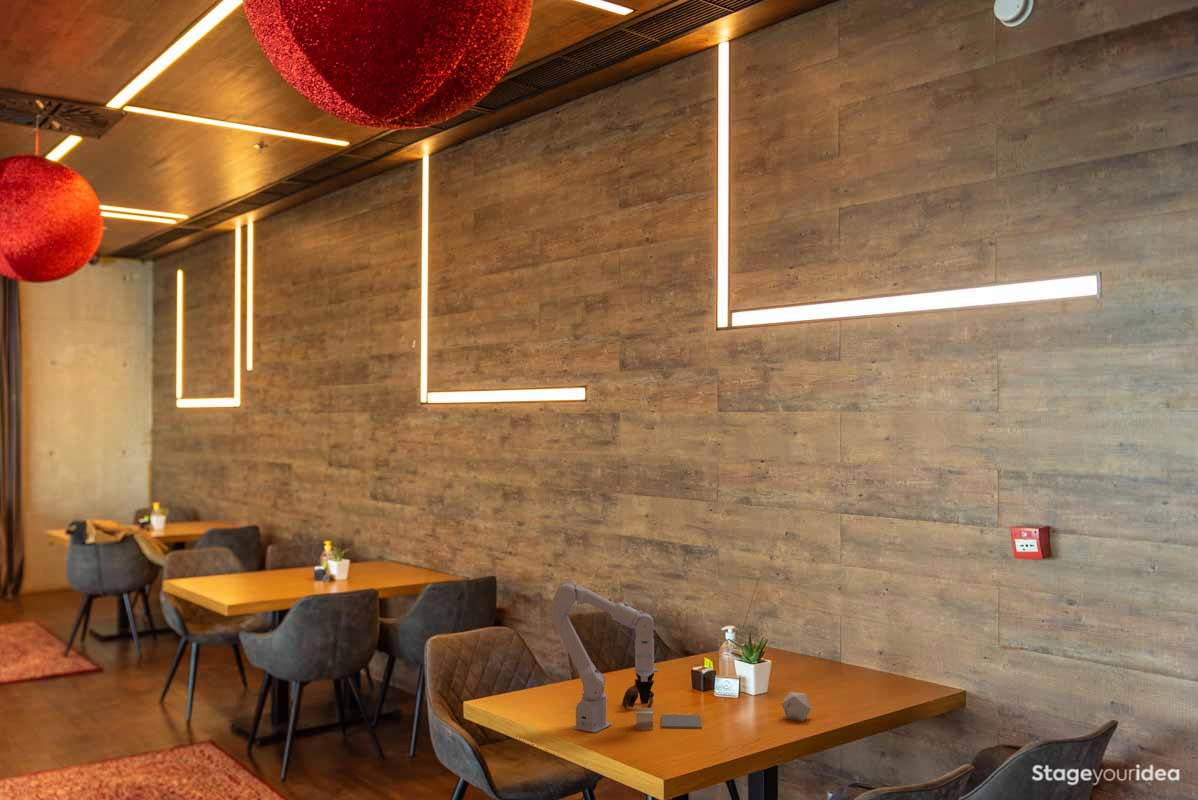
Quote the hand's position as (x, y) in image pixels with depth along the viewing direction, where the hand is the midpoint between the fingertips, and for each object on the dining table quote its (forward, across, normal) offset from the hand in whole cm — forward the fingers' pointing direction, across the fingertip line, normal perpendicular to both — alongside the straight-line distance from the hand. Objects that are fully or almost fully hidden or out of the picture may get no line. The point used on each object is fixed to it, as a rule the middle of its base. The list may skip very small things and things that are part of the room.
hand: (644, 699), depth 299 cm
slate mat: (+8, +5, -11) cm, 15 cm away
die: (+8, +11, -47) cm, 49 cm away
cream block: (+8, 0, 0) cm, 8 cm away
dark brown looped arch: (+8, +22, +3) cm, 23 cm away
